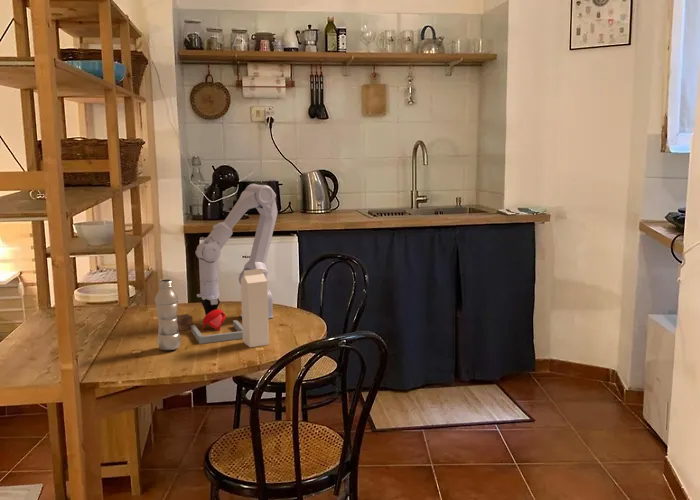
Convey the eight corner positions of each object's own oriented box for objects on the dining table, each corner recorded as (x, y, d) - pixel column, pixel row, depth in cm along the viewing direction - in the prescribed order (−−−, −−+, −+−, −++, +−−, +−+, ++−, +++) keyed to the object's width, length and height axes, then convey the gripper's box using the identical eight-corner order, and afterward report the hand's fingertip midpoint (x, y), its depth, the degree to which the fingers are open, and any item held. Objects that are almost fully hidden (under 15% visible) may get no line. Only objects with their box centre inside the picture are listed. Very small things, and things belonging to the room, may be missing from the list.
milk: (242, 342, 202) (239, 268, 198) (262, 339, 205) (259, 266, 201) (250, 347, 197) (246, 272, 193) (270, 344, 199) (267, 269, 196)
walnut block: (187, 326, 220) (186, 313, 219) (193, 328, 217) (192, 316, 216) (175, 328, 217) (175, 316, 217) (181, 331, 214) (180, 318, 214)
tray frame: (237, 326, 219) (236, 320, 218) (248, 337, 206) (247, 331, 206) (191, 331, 213) (191, 325, 213) (199, 344, 201) (199, 337, 200)
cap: (227, 314, 220) (210, 305, 219) (229, 312, 215) (212, 303, 214) (215, 336, 218) (198, 327, 217) (216, 335, 212) (199, 326, 211)
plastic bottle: (160, 354, 192) (156, 284, 188) (155, 347, 198) (151, 279, 194) (183, 350, 195) (179, 281, 191) (177, 344, 200) (174, 277, 197)
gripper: (192, 276, 223) (194, 317, 225) (200, 285, 210) (202, 328, 212) (214, 274, 226) (215, 315, 228) (223, 283, 212) (225, 326, 215)
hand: (211, 321), depth 220 cm, fingers closed
